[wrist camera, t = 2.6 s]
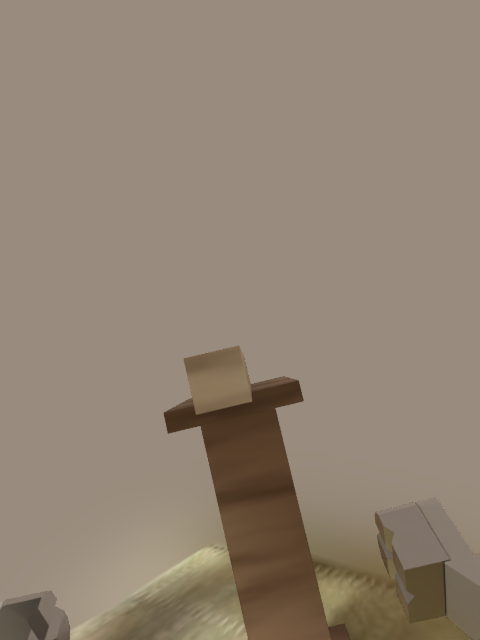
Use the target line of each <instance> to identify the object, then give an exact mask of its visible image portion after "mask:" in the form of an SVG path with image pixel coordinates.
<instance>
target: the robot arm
mask: <svg viewBox="0 0 480 640" xmlns="http://www.w3.org/2000/svg"><path fill="white" fill-rule="evenodd" d="M375 523H376V525H377V527H378V529H379V534H378V535H377V538H378V544H379V548H380V552H381V555H382V559H383V562H384V564H385V567H386V569H387V572H388V574H389V577H390V578H392V579H393V580H395V581H396V588H397V595H398V597H399V600H400V602H401V604H402V607H403V609H404V611H405V613H406V616H407V618H408V620H409V622H410V623H413V622H418V621H423V620H428V619H433V618H438V617H442V616H447V618H448V619H449V620H450V621H451V622H452V623H454V624H455V625H456V626H457V627H458V628H459V629H461V630H462V631H463V632H464V633H465V634H466V635H468V636H469V637H470V638H471V639H472V640H480V554H476V555H474V553H473V552H472V550H471V549H470V547H469V546H468V544H467V543H466V541H465V539H464V538H463V536H462V535H461V533H460V532H459V530H458V529H457V527H456V526H455V524H454V523H453V521H452V520H451V518H450V517H449V515H448V514H447V512H446V511H445V509H444V508H443V506H442V504H441V503H440V501H439V500H437V499H436V498H431V499H427V500H423V501H418V502H415V503H413V502H412V503H408V504H404V505H401V506H397V507H393V508H389V509H385V510H381V511H377V512H375ZM56 600H57V598H56V597H55V596H54V594H53V593H52V591H46V592H41V593H36V594H31V595H26V596H22V597H17V598H12V599H8V600H4V601H0V640H70V625H69V621H68V617H67V615H66V614H65V612H64V611H63V610H61V609H59V608H57V607H55V604H56Z"/></svg>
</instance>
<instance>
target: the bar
mask: <svg viewBox="0 0 480 640" xmlns="http://www.w3.org/2000/svg"><path fill="white" fill-rule="evenodd" d="M184 363H185V367H186V371H187V376H188V381H189V385H190V390H191V394H192V399H193V403H194V408H195V412H196V415H198V414H202V413H206V412H210V411H214V410H219V409H223V408H227V407H231V406H235V405H240V404H244V403H248V402H252V394H251V383H250V380H249V375H248V371H247V367H246V362H245V358H244V355H243V353H242V351H241V349H240V347H239V346H235V347H231V348H227V349H222V350H218V351H214V352H210V353H205V354H201V355H197V356H193V357H189V358H184Z"/></svg>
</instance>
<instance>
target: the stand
mask: <svg viewBox="0 0 480 640" xmlns="http://www.w3.org/2000/svg"><path fill="white" fill-rule="evenodd" d="M251 394H252V402H248V403H244V404H240V405H235V406H231V407H227V408H223V409H219V410H214V411H210V412H206V413H202V414H198V415H196V412H195V408H194V403H193V399H192V398H191V399H188V400H186V401H185V402H183V403H181V404H179V405H177V406H175V407H173V408H172V409H170V410H168V411H166V412H164V417H165V422H166V427H167V431H168V433H172V432H176V431H181V430H185V429H189V428H193V427H197V426H201V430H202V434H203V439H204V443H205V448H206V452H207V457H208V461H209V466H210V470H211V475H212V479H213V484H214V488H215V493H216V497H217V502H218V506H219V511H220V515H221V520H222V524H223V529H224V533H225V538H226V542H227V547H228V551H229V556H230V560H231V565H232V569H233V574H234V578H235V582H236V587H237V591H238V596H239V600H240V605H241V609H242V614H243V618H244V623H245V627H246V632H247V636H248V640H350V637H349V634H348V632H347V629H346V626H345V624H340V625H336V626H332V627H328V625H327V621H326V616H325V612H324V608H323V604H322V600H321V596H320V592H319V587H318V583H317V579H316V575H315V571H314V567H313V563H312V558H311V554H310V550H309V546H308V542H307V538H306V534H305V530H304V525H303V521H302V517H301V513H300V509H299V504H298V500H297V497H296V492H295V488H294V484H293V480H292V475H291V471H290V467H289V463H288V459H287V455H286V451H285V447H284V443H283V438H282V435H281V430H280V426H279V422H278V417H277V413H276V409H275V408H277V407H281V406H285V405H290V404H294V403H298V402H302V401H303V396H302V392H301V389H300V384H299V381H298V380H295V379H291V378H288V377H279V378H275V379H271V380H267V381H263V382H259V383H254V384H251Z"/></svg>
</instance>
